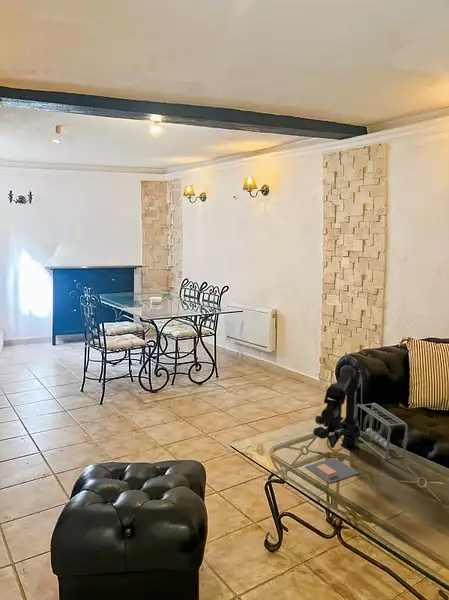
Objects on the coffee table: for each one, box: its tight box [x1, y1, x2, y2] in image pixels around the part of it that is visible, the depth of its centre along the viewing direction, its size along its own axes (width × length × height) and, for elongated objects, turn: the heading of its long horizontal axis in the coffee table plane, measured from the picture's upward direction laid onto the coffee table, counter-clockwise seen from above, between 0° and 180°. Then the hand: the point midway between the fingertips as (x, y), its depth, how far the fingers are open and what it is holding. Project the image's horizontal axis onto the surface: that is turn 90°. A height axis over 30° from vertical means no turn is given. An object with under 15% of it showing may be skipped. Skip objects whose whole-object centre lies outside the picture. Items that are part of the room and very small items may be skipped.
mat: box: [304, 457, 360, 484], centre depth 232 cm, size 18×16×1 cm
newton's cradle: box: [355, 402, 409, 461], centre depth 257 cm, size 30×10×18 cm, turn 17°
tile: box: [316, 464, 337, 478], centre depth 229 cm, size 2×8×5 cm
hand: (332, 447), depth 228 cm, fingers closed
